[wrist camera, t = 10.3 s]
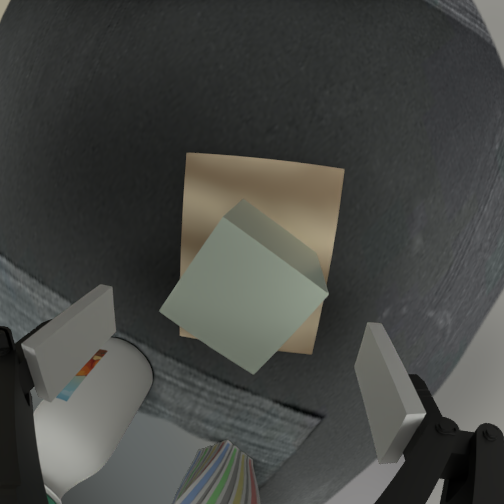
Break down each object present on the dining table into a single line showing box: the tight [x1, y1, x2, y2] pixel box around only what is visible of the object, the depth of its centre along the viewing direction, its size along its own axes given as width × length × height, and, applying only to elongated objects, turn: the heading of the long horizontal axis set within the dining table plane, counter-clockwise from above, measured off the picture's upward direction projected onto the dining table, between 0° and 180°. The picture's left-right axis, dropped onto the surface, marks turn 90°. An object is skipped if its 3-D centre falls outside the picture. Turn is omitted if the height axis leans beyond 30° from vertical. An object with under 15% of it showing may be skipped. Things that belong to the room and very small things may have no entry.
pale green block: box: [159, 199, 329, 375], centre depth 21 cm, size 7×7×8 cm
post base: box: [180, 153, 344, 354], centre depth 23 cm, size 16×12×6 cm
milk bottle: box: [33, 338, 153, 504], centre depth 21 cm, size 8×8×20 cm
